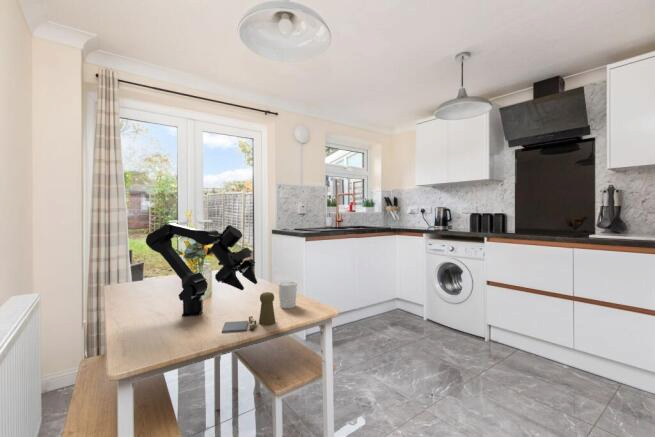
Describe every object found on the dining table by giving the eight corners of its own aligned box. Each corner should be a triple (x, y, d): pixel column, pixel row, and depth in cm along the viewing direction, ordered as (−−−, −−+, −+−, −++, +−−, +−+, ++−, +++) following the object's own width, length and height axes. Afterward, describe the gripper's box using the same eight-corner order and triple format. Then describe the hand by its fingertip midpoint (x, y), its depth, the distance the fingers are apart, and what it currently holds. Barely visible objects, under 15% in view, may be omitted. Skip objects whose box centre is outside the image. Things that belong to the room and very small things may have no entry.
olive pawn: (276, 319, 114) (276, 290, 114) (274, 325, 108) (274, 295, 108) (260, 319, 114) (260, 290, 114) (257, 325, 108) (257, 295, 108)
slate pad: (221, 332, 102) (221, 330, 102) (225, 323, 110) (225, 322, 110) (246, 330, 103) (246, 329, 103) (247, 322, 111) (247, 320, 111)
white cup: (293, 309, 125) (293, 285, 125) (275, 308, 127) (275, 284, 126) (299, 303, 133) (299, 281, 133) (282, 302, 134) (282, 280, 134)
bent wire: (247, 331, 103) (247, 326, 103) (249, 320, 113) (249, 316, 113) (255, 330, 104) (255, 325, 104) (256, 320, 113) (256, 315, 113)
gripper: (221, 244, 105) (249, 277, 102) (250, 239, 123) (275, 267, 120) (203, 265, 107) (230, 298, 105) (234, 257, 125) (257, 285, 122)
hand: (250, 286), depth 113 cm, fingers open, 9 cm apart
